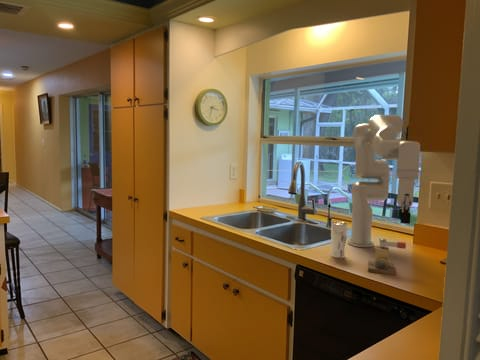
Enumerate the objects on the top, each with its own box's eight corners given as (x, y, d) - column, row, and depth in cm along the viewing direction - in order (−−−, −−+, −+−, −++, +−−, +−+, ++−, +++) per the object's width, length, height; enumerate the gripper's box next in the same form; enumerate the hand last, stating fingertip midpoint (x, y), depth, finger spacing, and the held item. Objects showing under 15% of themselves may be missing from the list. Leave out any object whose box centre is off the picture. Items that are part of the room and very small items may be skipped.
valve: (368, 264, 164) (369, 243, 163) (393, 267, 160) (395, 245, 160) (367, 271, 154) (369, 249, 153) (395, 275, 151) (396, 252, 150)
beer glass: (334, 252, 179) (335, 220, 178) (348, 255, 175) (350, 223, 173) (327, 256, 174) (328, 223, 172) (341, 259, 170) (343, 225, 168)
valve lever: (379, 248, 156) (379, 239, 155) (378, 246, 158) (379, 238, 158) (405, 250, 152) (406, 242, 152) (404, 249, 155) (405, 240, 155)
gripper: (395, 172, 154) (392, 216, 156) (397, 176, 138) (394, 224, 140) (415, 173, 152) (412, 217, 154) (421, 177, 135) (417, 226, 137)
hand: (404, 220), depth 147 cm, fingers open, 7 cm apart
